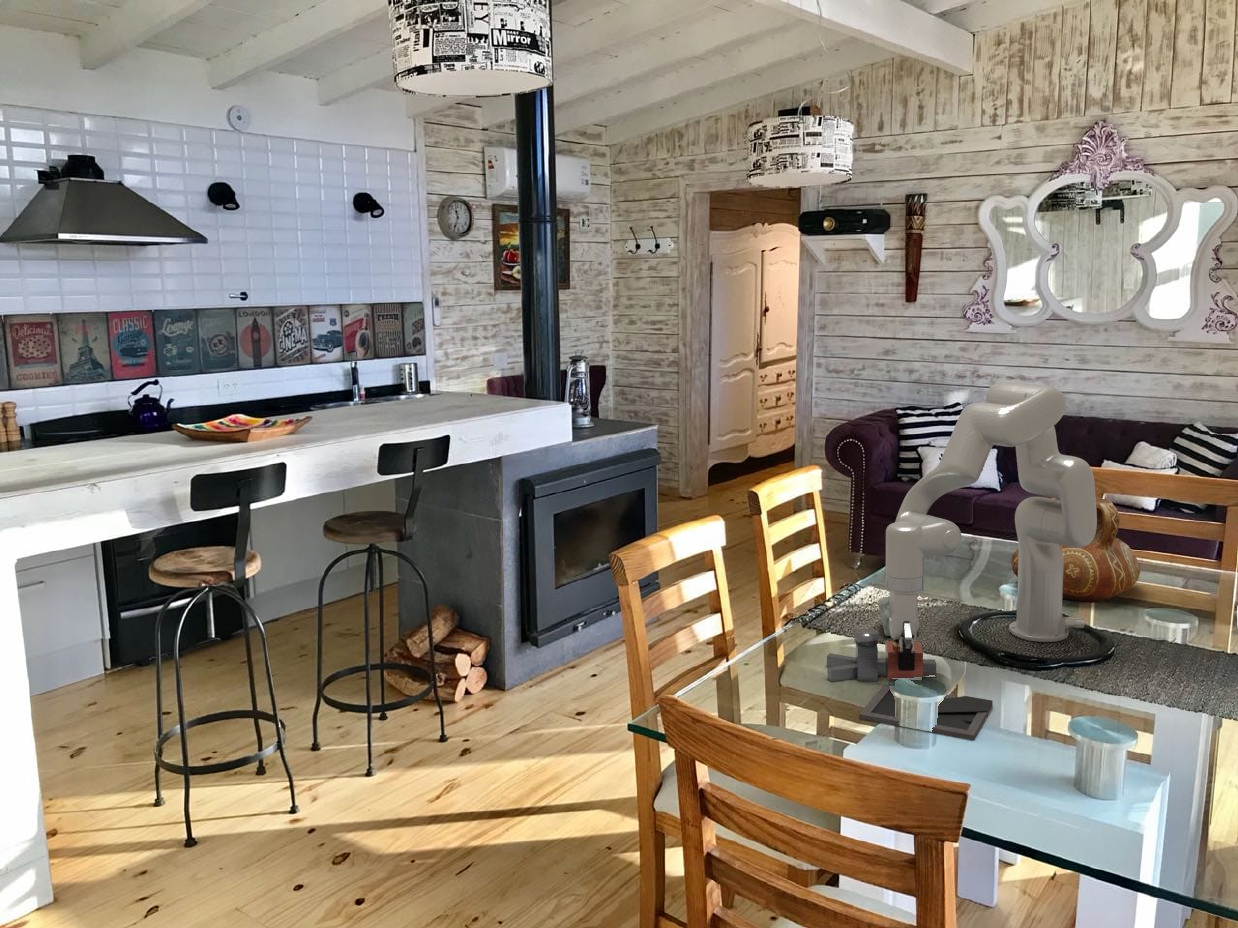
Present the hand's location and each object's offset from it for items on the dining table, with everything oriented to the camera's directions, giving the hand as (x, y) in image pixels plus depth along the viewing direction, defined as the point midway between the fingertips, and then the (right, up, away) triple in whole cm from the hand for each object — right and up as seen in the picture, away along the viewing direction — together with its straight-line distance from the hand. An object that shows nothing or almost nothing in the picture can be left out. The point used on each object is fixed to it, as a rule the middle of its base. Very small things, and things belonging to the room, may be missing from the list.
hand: (904, 661), depth 217 cm
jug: (+57, +8, +50) cm, 77 cm away
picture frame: (-1, -7, -18) cm, 20 cm away
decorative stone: (+6, +2, +26) cm, 27 cm away
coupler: (-5, -3, +1) cm, 6 cm away
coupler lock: (0, -3, +1) cm, 3 cm away
